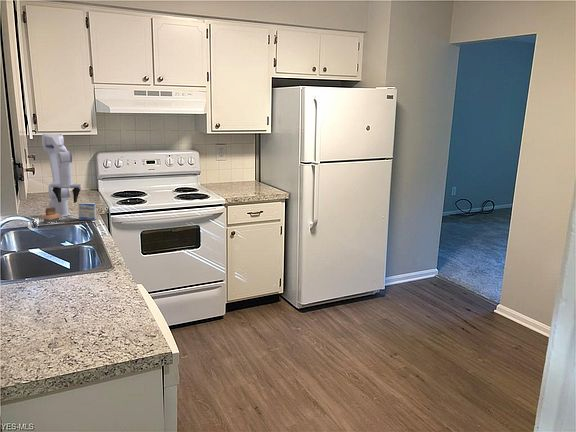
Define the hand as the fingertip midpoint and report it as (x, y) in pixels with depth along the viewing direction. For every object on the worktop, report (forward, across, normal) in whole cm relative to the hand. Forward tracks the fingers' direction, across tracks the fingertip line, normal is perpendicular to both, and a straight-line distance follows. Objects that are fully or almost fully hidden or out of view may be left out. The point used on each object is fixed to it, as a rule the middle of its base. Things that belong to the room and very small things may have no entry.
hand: (67, 202), depth 231 cm
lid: (+8, -8, -1) cm, 12 cm away
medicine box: (+10, +7, +5) cm, 14 cm away
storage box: (+10, -8, -1) cm, 13 cm away
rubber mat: (+10, -2, +3) cm, 11 cm away
